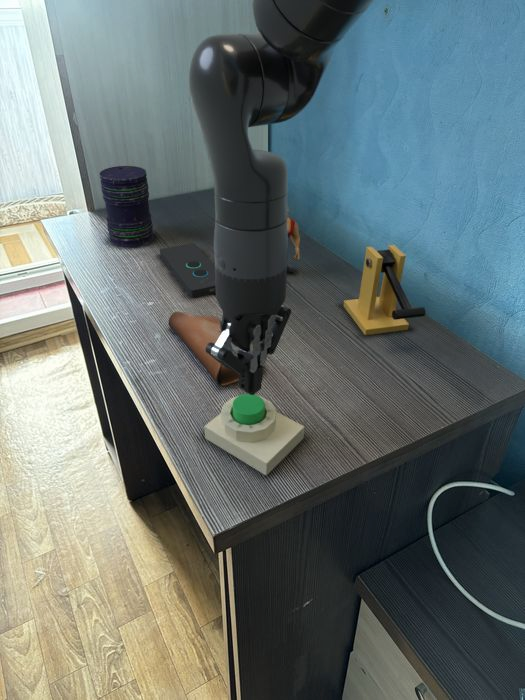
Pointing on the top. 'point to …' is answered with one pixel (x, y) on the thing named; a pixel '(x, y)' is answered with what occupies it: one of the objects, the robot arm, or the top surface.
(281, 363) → the top surface
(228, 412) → the switch box
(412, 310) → the switch lever
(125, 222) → the storage jar
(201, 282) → the smart home device
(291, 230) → the action figure
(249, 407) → the light button
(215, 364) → the sunglasses case
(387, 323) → the lever bracket
